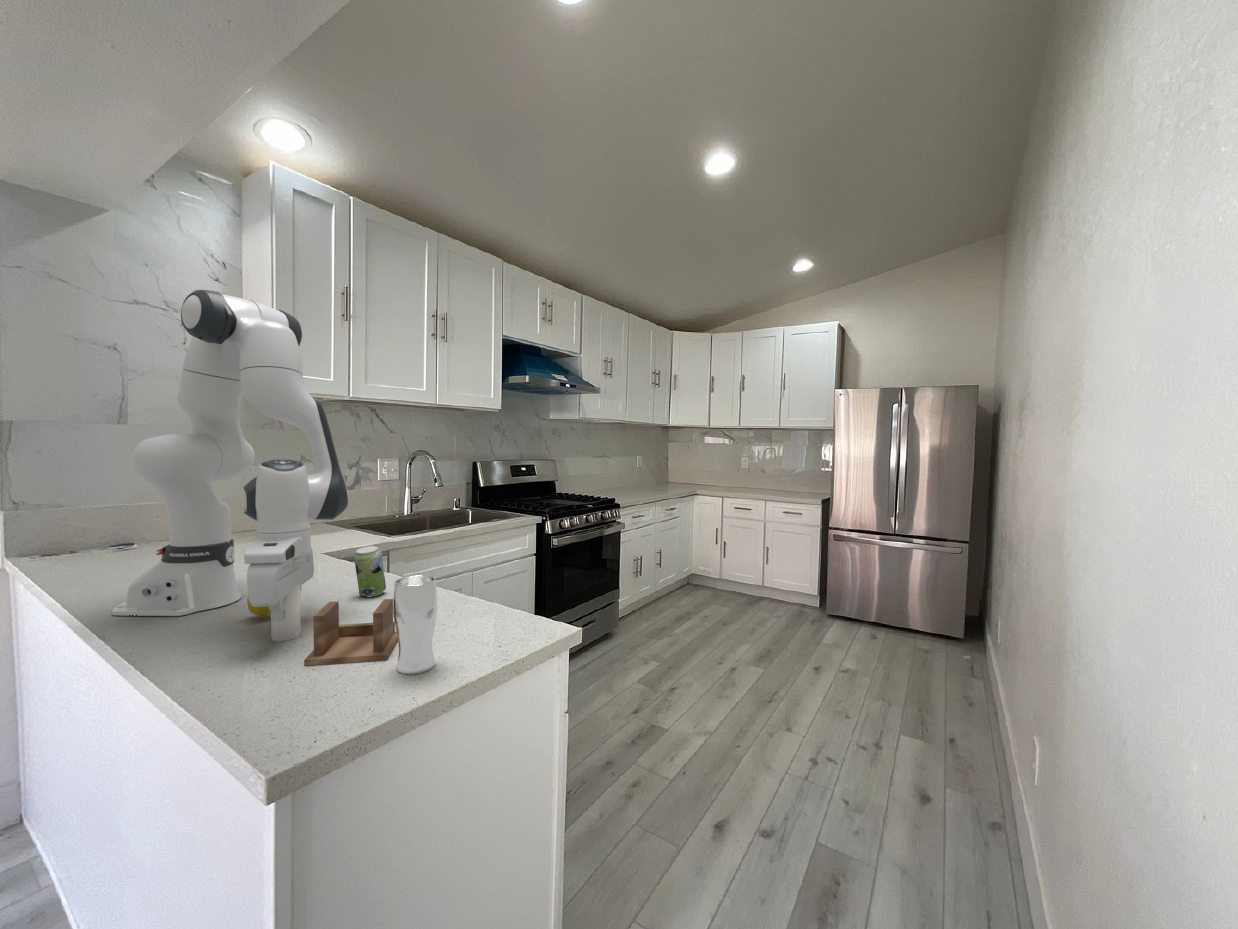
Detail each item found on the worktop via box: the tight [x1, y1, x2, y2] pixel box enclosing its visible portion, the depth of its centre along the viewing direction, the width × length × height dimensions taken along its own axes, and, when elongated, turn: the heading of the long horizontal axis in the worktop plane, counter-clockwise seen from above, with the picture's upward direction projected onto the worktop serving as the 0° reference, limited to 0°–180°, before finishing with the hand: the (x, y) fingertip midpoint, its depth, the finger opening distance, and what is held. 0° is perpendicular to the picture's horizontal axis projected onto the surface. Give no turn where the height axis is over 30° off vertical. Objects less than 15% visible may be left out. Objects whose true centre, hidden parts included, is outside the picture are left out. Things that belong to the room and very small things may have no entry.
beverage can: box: [353, 545, 387, 597], centre depth 126 cm, size 6×7×12 cm
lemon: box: [246, 597, 271, 619], centre depth 110 cm, size 6×6×8 cm
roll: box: [270, 583, 302, 642], centre depth 100 cm, size 5×5×10 cm
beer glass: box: [392, 574, 438, 675], centre depth 88 cm, size 7×7×15 cm
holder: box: [303, 598, 399, 666], centre depth 94 cm, size 13×11×8 cm
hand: (285, 614), depth 100 cm, fingers closed on roll, 5 cm apart
